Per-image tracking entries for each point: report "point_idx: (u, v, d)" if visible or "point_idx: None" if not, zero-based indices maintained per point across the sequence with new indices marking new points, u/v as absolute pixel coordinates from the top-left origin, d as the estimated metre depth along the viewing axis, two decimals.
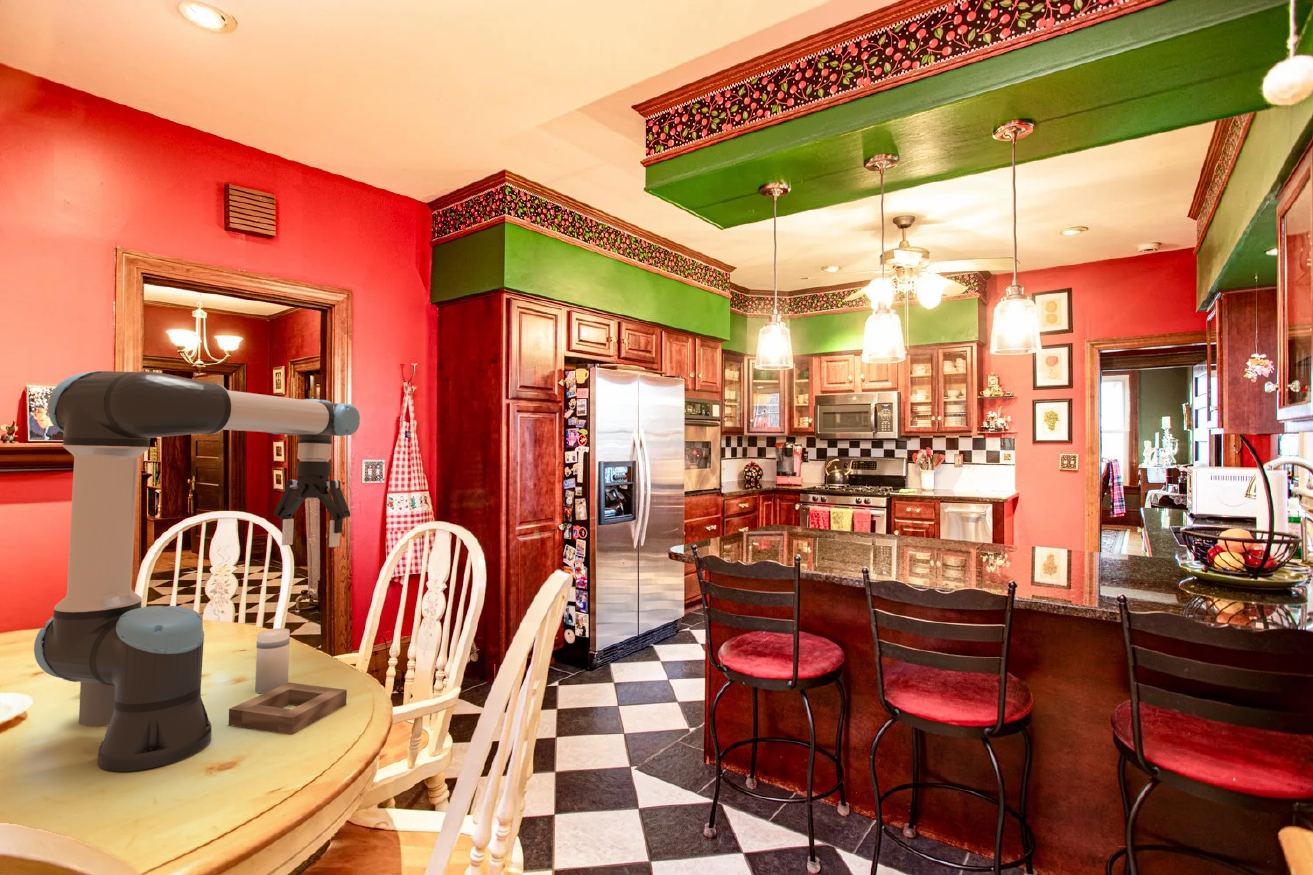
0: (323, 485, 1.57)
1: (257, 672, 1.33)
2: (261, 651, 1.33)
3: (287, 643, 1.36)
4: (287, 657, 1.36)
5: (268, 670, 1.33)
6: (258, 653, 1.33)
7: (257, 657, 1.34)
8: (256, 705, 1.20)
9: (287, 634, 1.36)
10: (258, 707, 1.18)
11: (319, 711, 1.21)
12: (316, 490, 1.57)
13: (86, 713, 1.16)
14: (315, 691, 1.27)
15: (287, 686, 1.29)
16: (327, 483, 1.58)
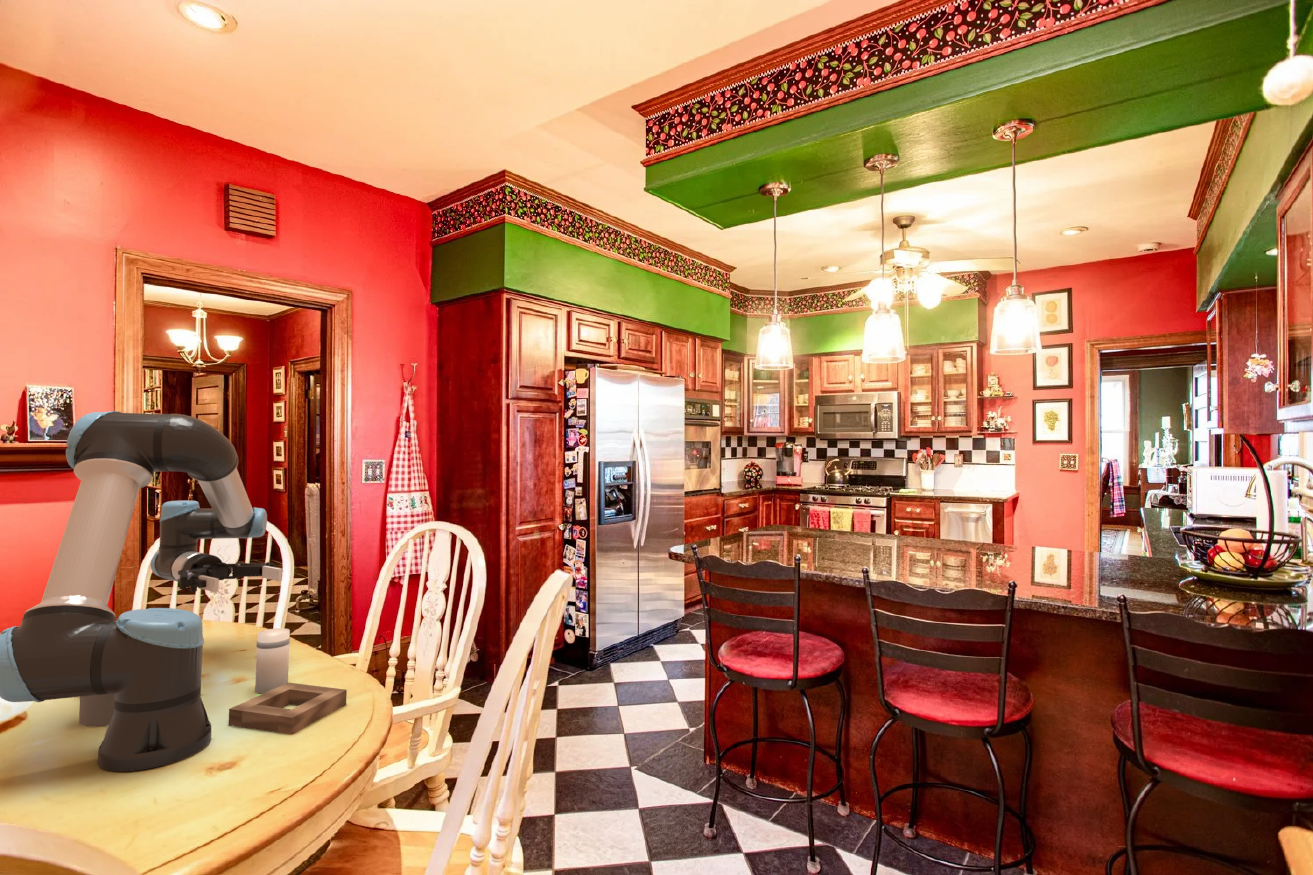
0: None
1: (257, 672, 1.33)
2: (261, 651, 1.33)
3: (287, 643, 1.36)
4: (287, 657, 1.36)
5: (268, 670, 1.33)
6: (258, 653, 1.33)
7: (257, 657, 1.34)
8: (256, 705, 1.20)
9: (287, 634, 1.36)
10: (258, 707, 1.18)
11: (319, 711, 1.21)
12: None
13: (86, 713, 1.16)
14: (315, 691, 1.27)
15: (287, 686, 1.29)
16: (232, 567, 1.52)
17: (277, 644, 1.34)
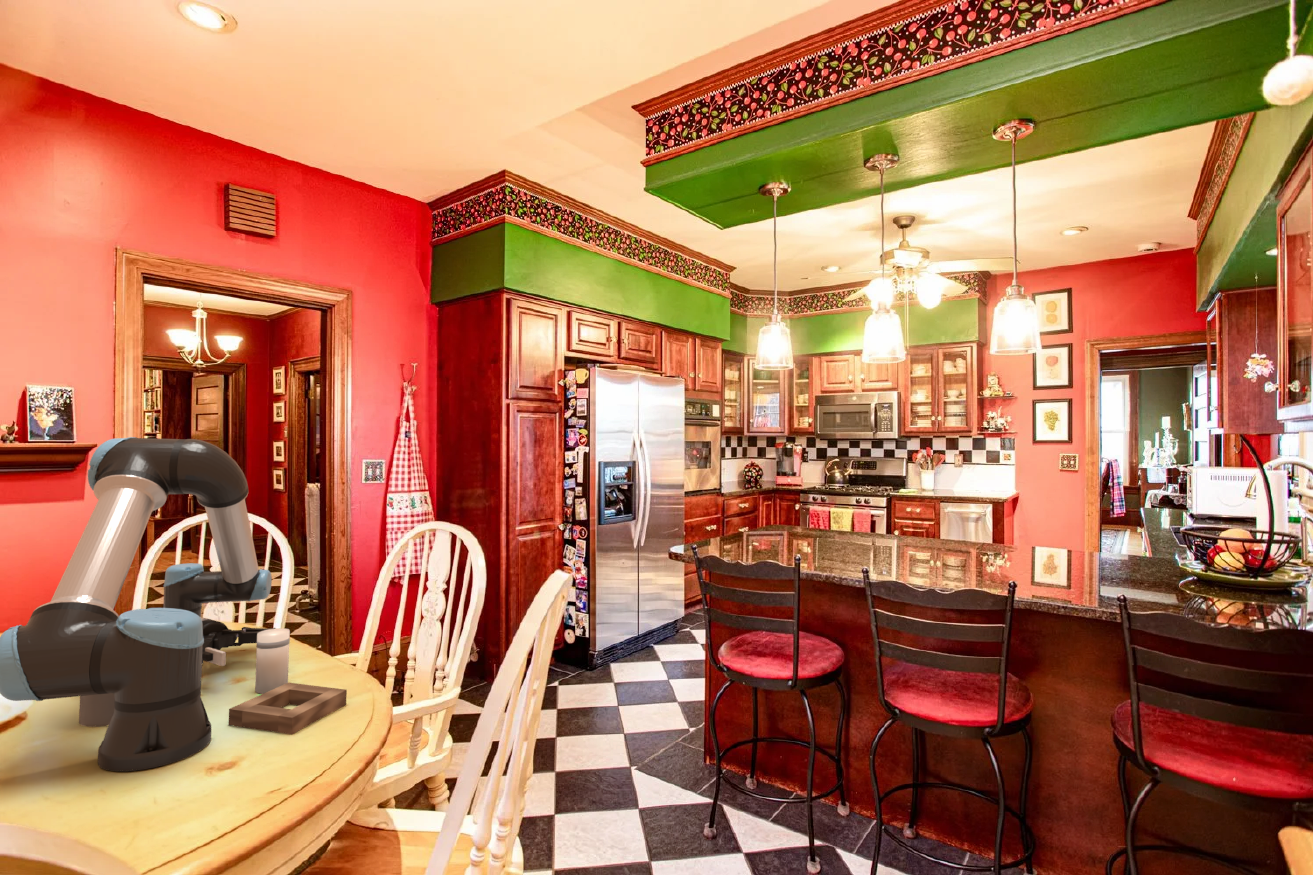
0: None
1: (257, 672, 1.33)
2: (261, 651, 1.33)
3: (287, 643, 1.36)
4: (287, 657, 1.36)
5: (267, 670, 1.33)
6: (258, 653, 1.33)
7: (257, 657, 1.34)
8: (256, 705, 1.20)
9: (287, 634, 1.36)
10: (258, 707, 1.18)
11: (319, 711, 1.21)
12: (232, 630, 1.48)
13: (86, 713, 1.16)
14: (315, 691, 1.27)
15: (287, 686, 1.29)
16: None
17: (277, 644, 1.34)
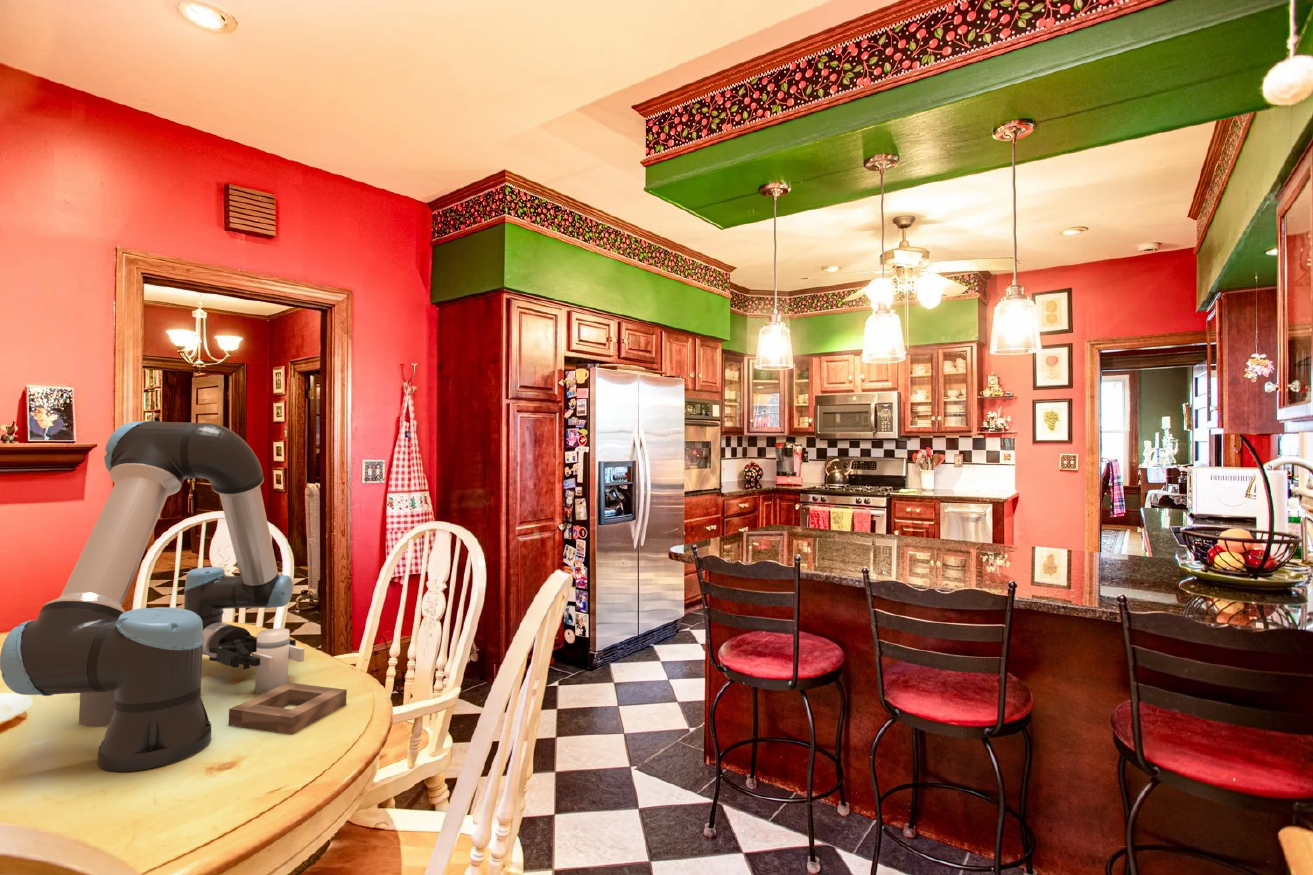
0: None
1: (257, 672, 1.33)
2: (261, 651, 1.33)
3: (287, 643, 1.36)
4: (287, 657, 1.36)
5: None
6: None
7: None
8: (256, 705, 1.20)
9: (287, 634, 1.36)
10: (258, 707, 1.18)
11: (319, 711, 1.21)
12: (254, 637, 1.42)
13: (86, 713, 1.16)
14: (315, 691, 1.27)
15: (287, 686, 1.29)
16: None
17: (277, 644, 1.34)
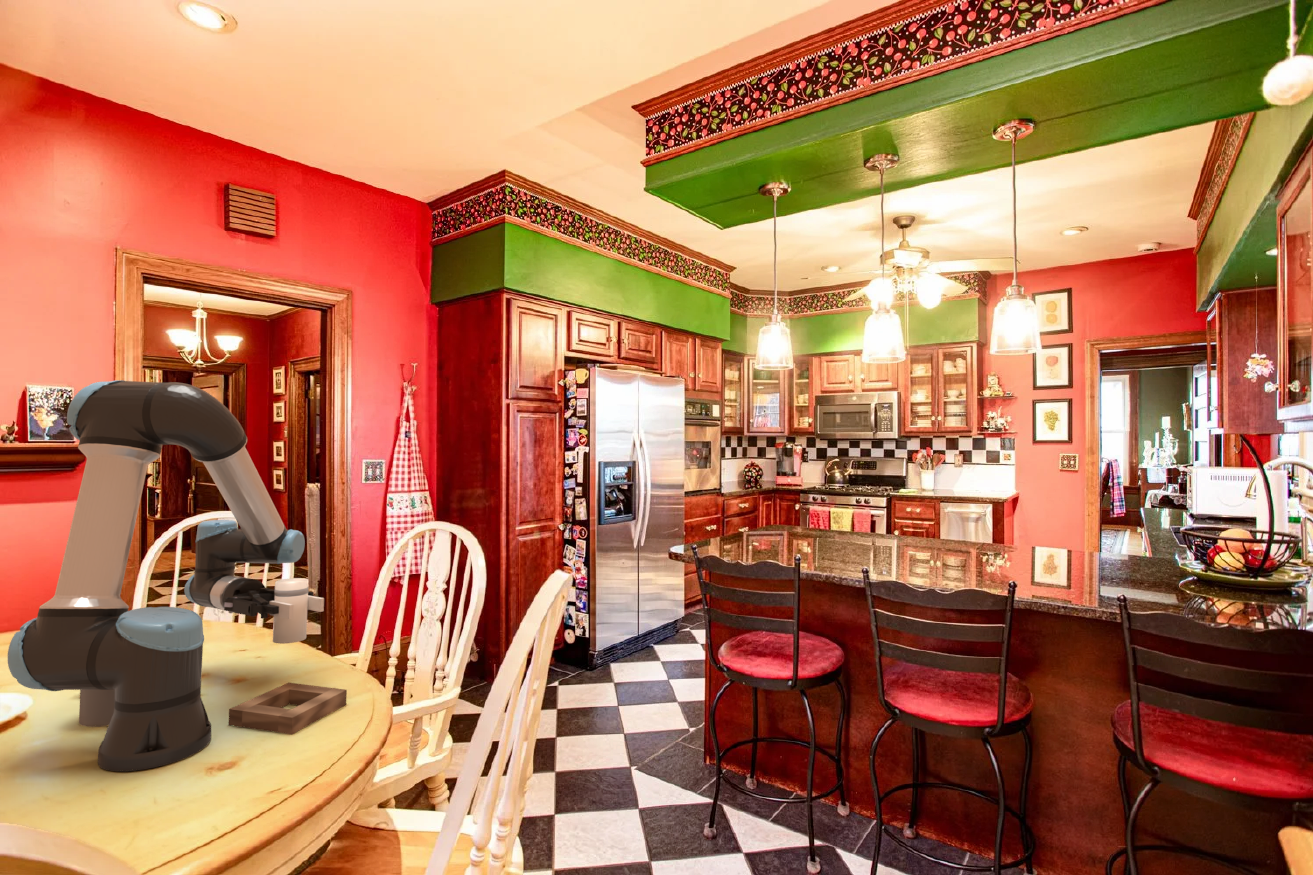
0: None
1: (275, 621, 1.28)
2: (280, 599, 1.28)
3: (306, 592, 1.31)
4: (306, 607, 1.31)
5: (286, 619, 1.28)
6: None
7: None
8: (256, 705, 1.20)
9: (306, 583, 1.31)
10: (258, 707, 1.18)
11: (319, 711, 1.21)
12: (270, 589, 1.37)
13: (86, 713, 1.16)
14: (315, 691, 1.27)
15: (287, 686, 1.29)
16: None
17: (296, 592, 1.29)
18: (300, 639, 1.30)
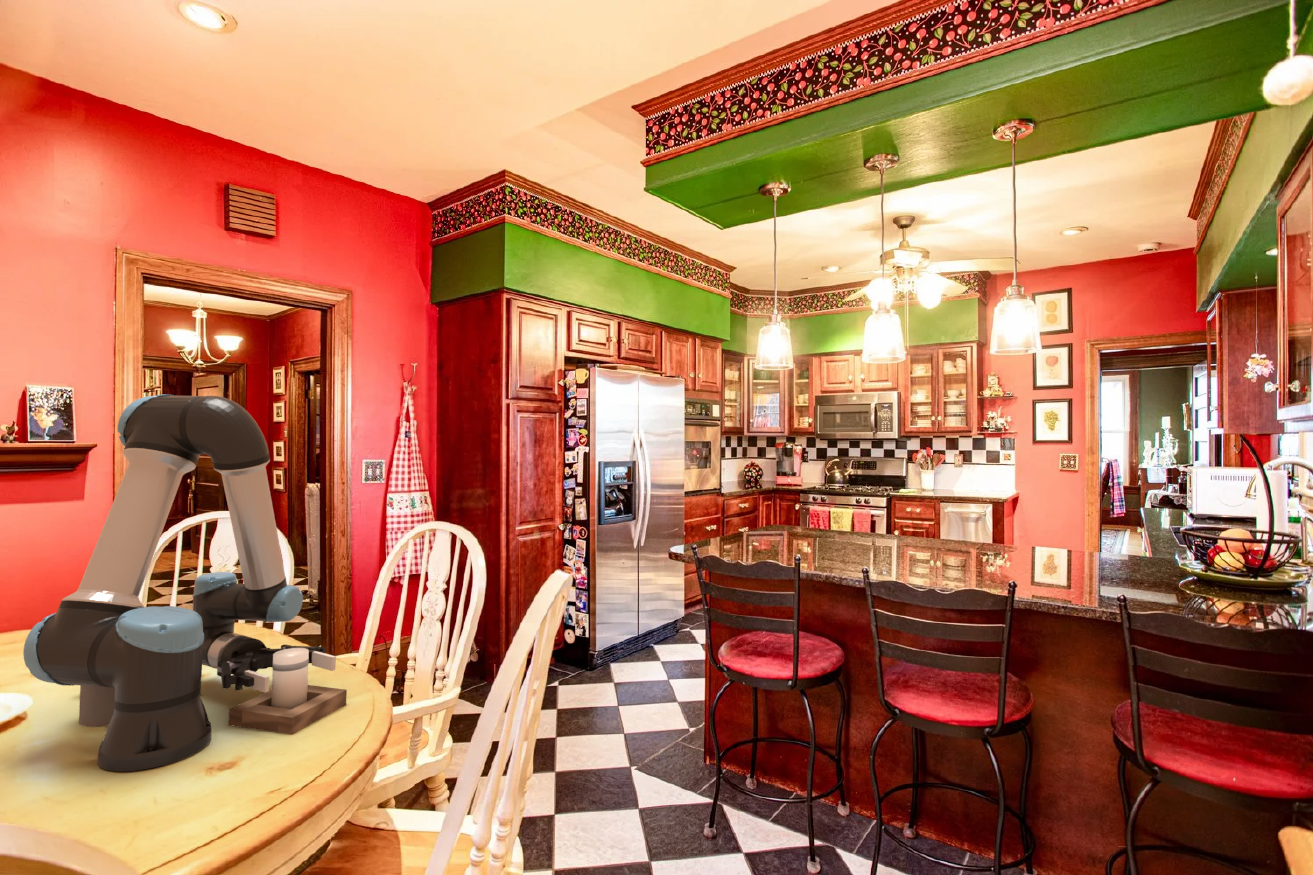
0: None
1: (273, 697, 1.20)
2: (278, 674, 1.20)
3: (306, 665, 1.23)
4: (306, 680, 1.23)
5: (285, 695, 1.20)
6: (274, 676, 1.20)
7: (273, 680, 1.21)
8: (256, 705, 1.20)
9: (306, 655, 1.23)
10: (258, 707, 1.18)
11: (319, 711, 1.21)
12: (271, 649, 1.30)
13: (86, 713, 1.16)
14: (315, 691, 1.27)
15: None
16: None
17: (295, 666, 1.21)
18: None
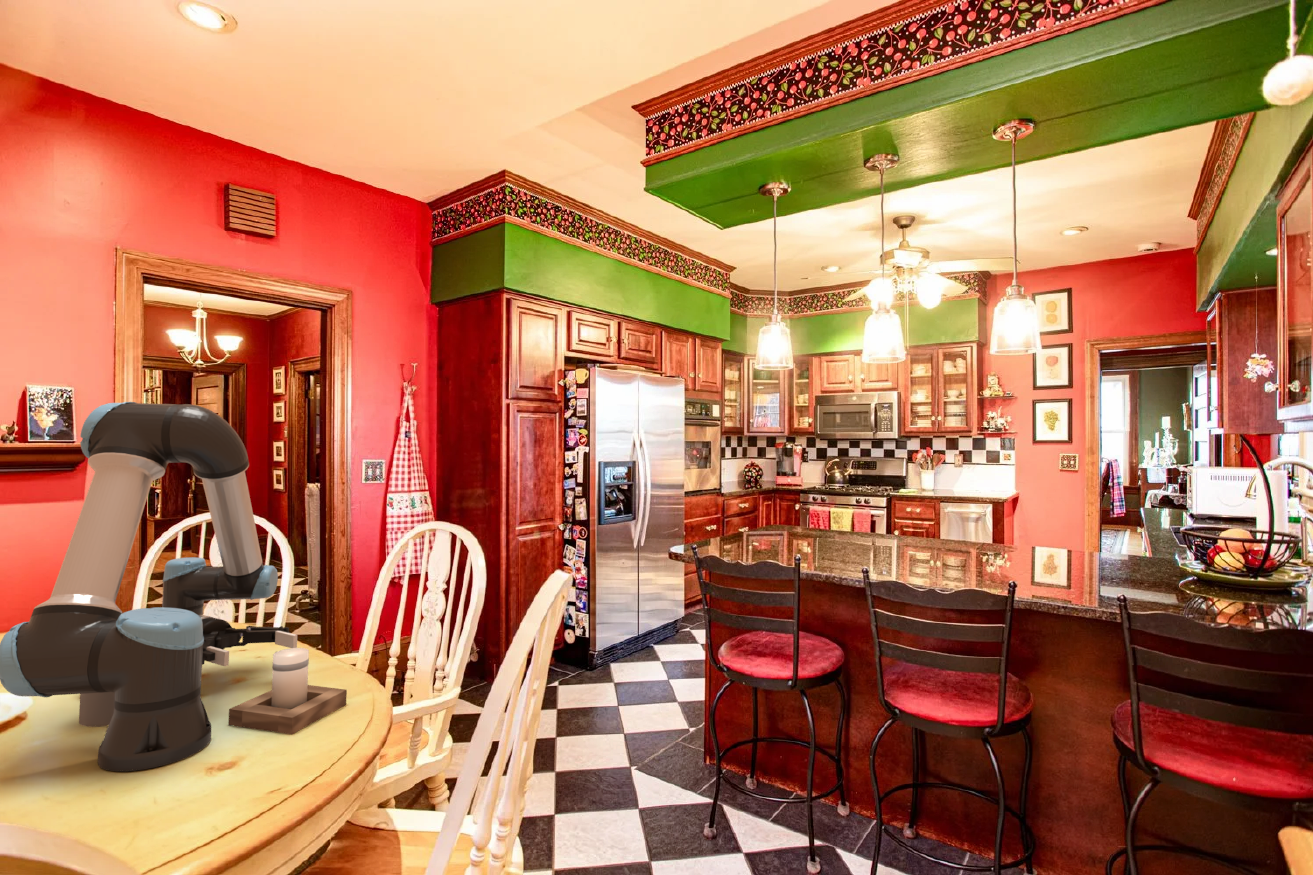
0: None
1: (273, 697, 1.20)
2: (278, 674, 1.20)
3: (306, 665, 1.23)
4: (306, 680, 1.23)
5: (285, 695, 1.20)
6: (274, 676, 1.20)
7: (273, 680, 1.21)
8: (256, 705, 1.20)
9: (306, 655, 1.23)
10: (258, 707, 1.18)
11: (319, 711, 1.21)
12: (236, 629, 1.37)
13: (86, 713, 1.16)
14: (315, 691, 1.27)
15: None
16: None
17: (295, 666, 1.21)
18: None
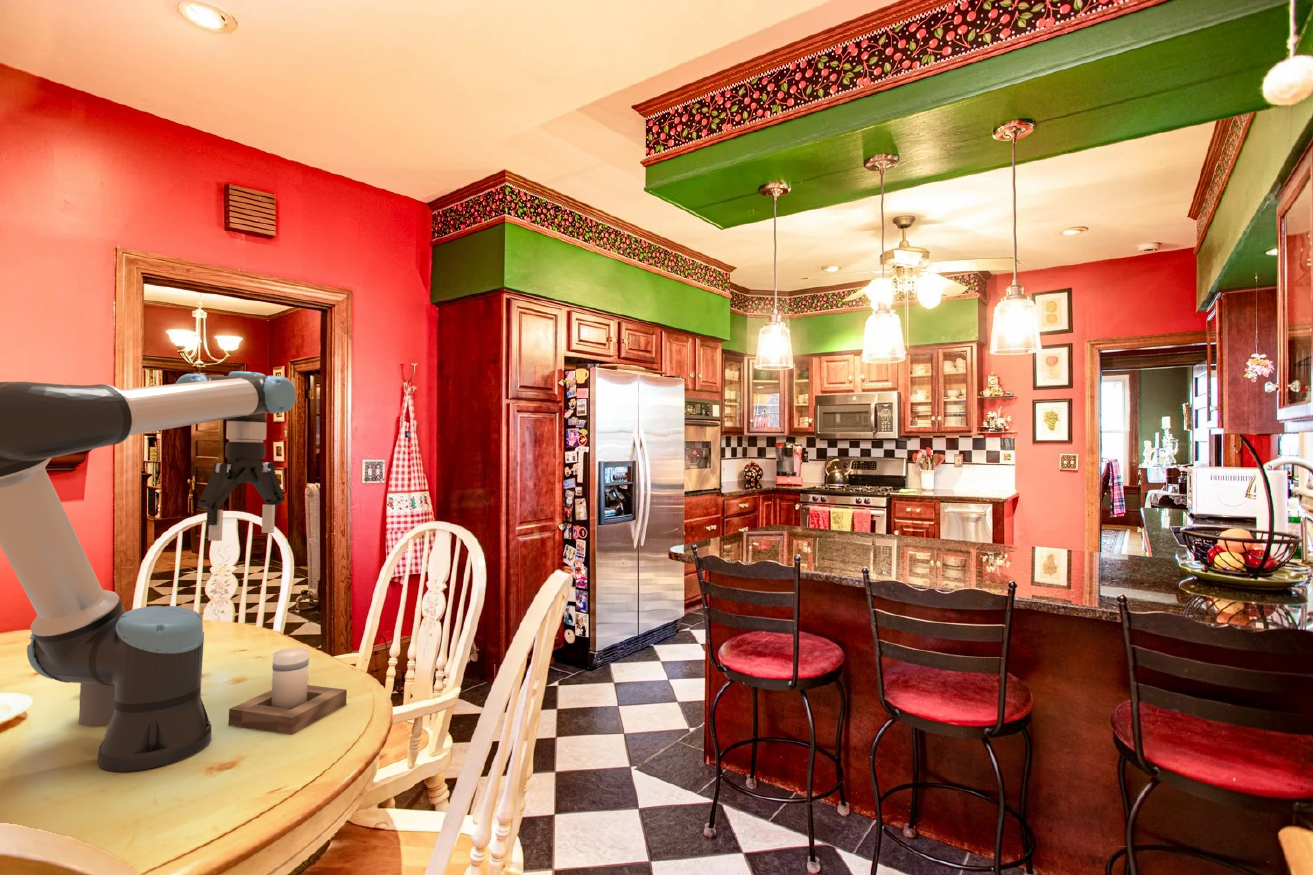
0: (263, 468, 1.45)
1: (273, 697, 1.20)
2: (278, 674, 1.20)
3: (306, 665, 1.23)
4: (306, 680, 1.23)
5: (285, 695, 1.20)
6: (274, 676, 1.20)
7: (273, 681, 1.21)
8: (256, 705, 1.20)
9: (306, 655, 1.23)
10: (258, 707, 1.18)
11: (319, 711, 1.21)
12: (260, 474, 1.43)
13: (86, 713, 1.16)
14: (315, 691, 1.27)
15: None
16: (263, 466, 1.45)
17: (295, 666, 1.21)
18: None
